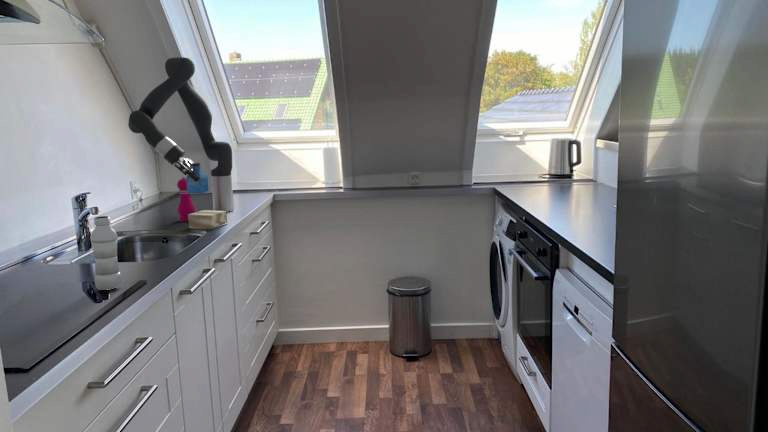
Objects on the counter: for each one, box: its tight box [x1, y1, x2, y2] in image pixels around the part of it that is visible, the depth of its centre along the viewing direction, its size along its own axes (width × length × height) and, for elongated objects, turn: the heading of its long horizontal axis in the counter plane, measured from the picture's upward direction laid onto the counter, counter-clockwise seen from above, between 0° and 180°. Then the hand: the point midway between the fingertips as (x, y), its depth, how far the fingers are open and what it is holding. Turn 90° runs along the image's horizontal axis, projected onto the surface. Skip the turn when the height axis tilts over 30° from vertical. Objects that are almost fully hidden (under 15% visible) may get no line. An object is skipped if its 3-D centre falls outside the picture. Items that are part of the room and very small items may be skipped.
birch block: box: [188, 209, 228, 230], centre depth 233 cm, size 11×11×6 cm
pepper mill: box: [176, 174, 196, 223], centre depth 245 cm, size 7×7×20 cm
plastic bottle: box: [89, 215, 123, 291], centre depth 149 cm, size 6×7×20 cm
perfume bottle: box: [186, 162, 210, 194], centre depth 229 cm, size 6×6×12 cm
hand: (200, 178), depth 229 cm, fingers closed on perfume bottle, 7 cm apart
